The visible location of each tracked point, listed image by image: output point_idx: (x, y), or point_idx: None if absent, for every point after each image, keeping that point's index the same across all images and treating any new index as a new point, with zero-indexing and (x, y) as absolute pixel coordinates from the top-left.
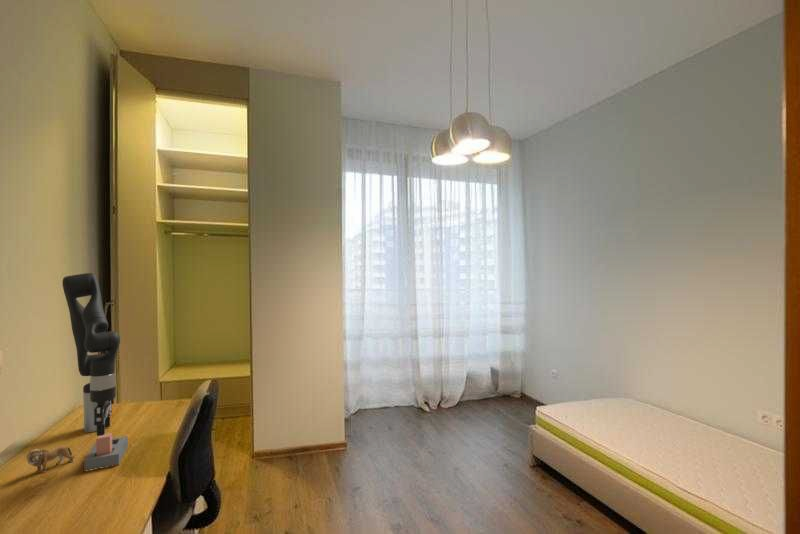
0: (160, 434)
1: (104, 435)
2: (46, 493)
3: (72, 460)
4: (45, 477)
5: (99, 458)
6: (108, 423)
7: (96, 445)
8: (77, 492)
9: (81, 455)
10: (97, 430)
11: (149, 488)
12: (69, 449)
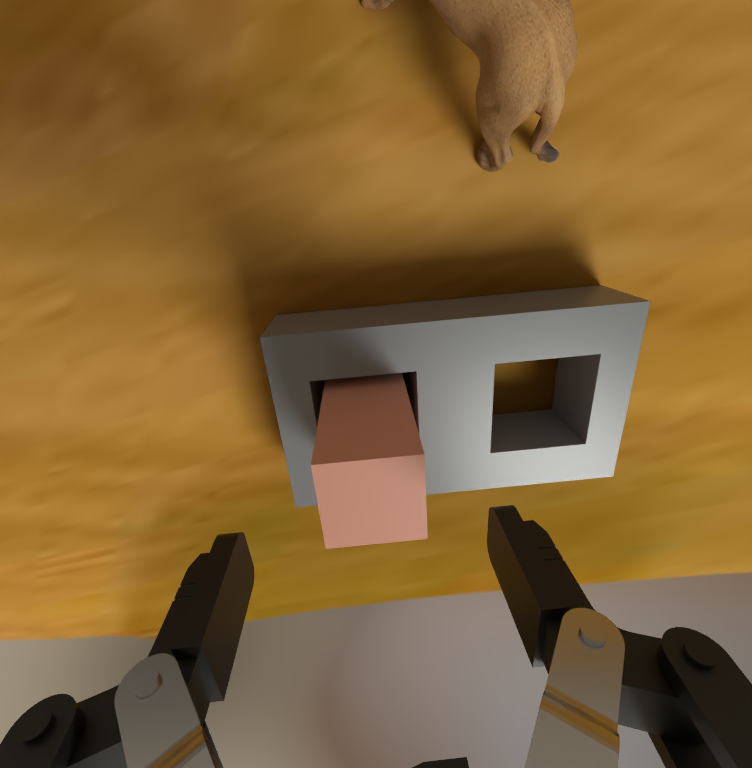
0: (643, 546)
1: (380, 502)
2: (3, 189)
3: (491, 169)
4: (267, 59)
5: (279, 416)
6: (499, 577)
7: (317, 429)
8: (5, 370)
9: (586, 195)
10: (172, 602)
11: (22, 621)
12: (539, 130)
